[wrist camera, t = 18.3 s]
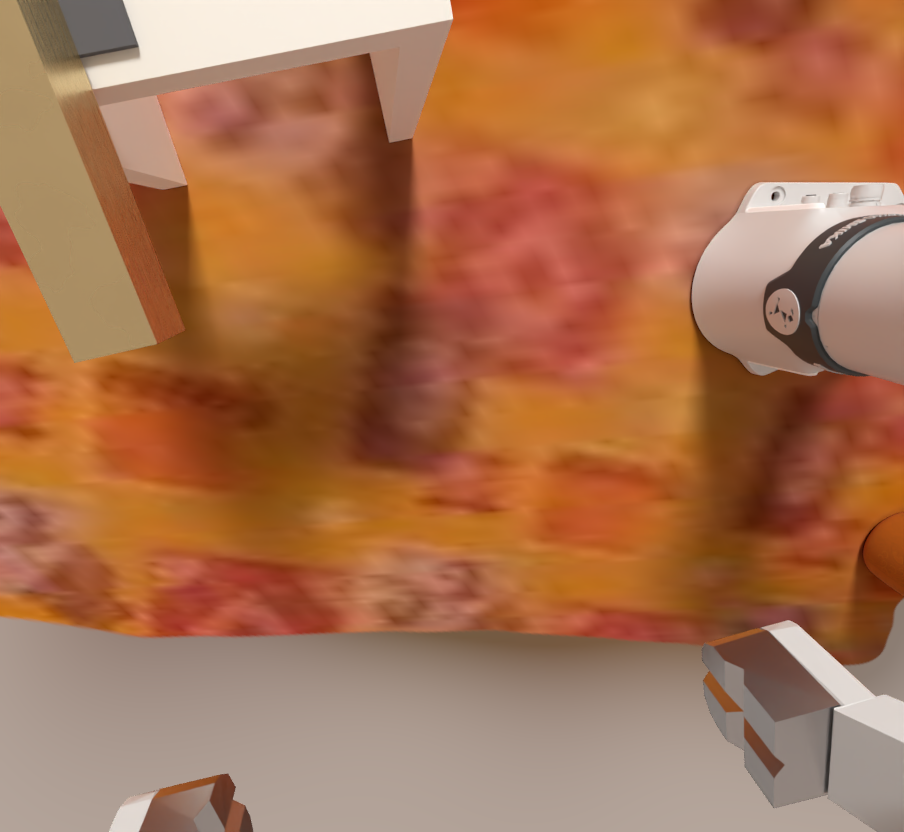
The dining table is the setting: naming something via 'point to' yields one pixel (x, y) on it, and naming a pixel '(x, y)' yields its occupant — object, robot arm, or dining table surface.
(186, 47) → the white upright block
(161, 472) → the dining table surface
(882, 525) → the wine bottle
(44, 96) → the light wood bar
